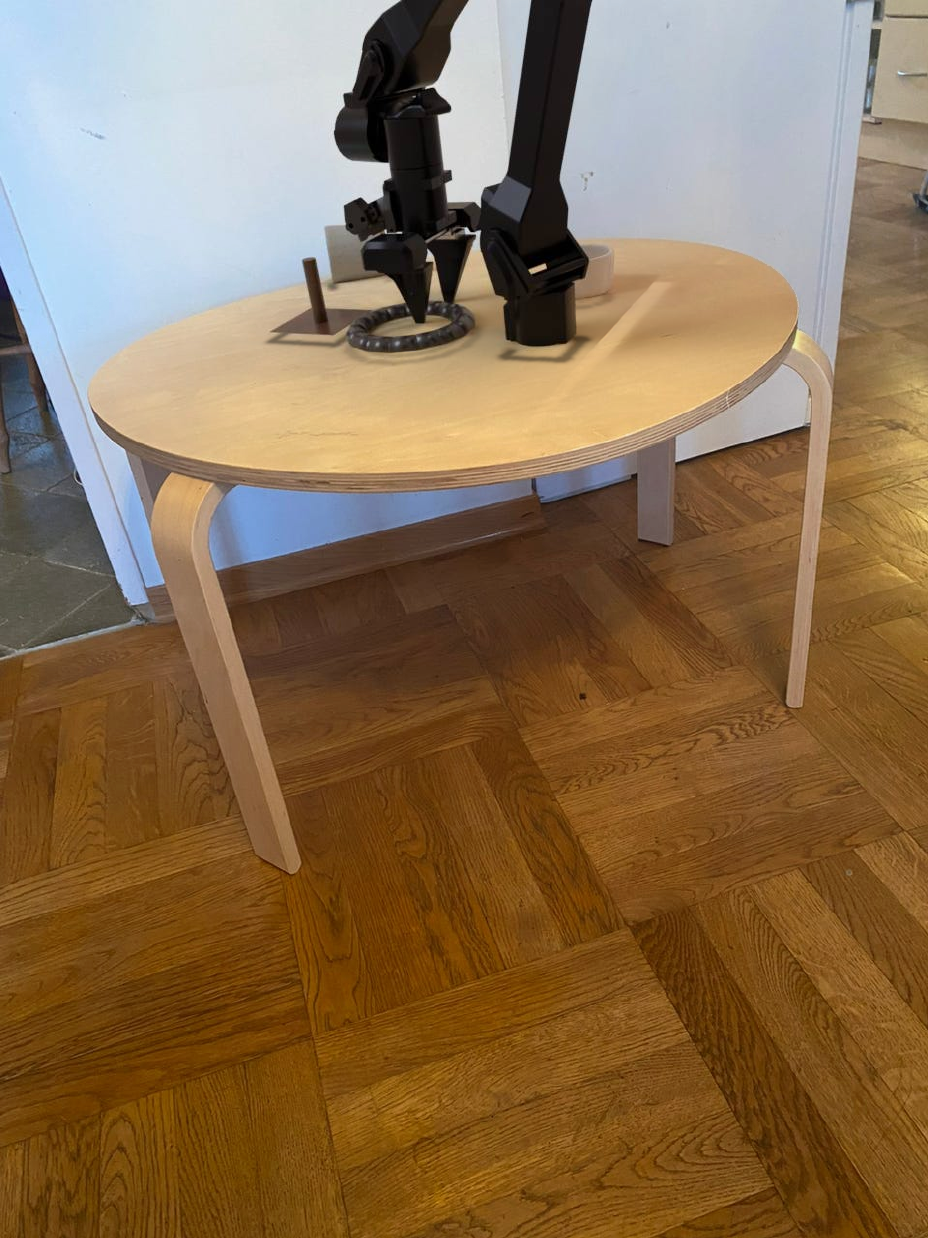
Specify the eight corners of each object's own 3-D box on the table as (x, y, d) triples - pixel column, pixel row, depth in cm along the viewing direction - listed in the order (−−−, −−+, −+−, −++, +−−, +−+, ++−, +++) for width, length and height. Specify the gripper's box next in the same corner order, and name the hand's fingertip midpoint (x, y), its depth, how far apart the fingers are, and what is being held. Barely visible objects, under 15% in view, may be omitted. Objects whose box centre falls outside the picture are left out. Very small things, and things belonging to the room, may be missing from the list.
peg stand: (374, 319, 105) (362, 248, 100) (334, 345, 99) (320, 270, 94) (312, 317, 109) (298, 248, 104) (271, 341, 103) (253, 269, 98)
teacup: (621, 304, 99) (620, 255, 96) (554, 313, 99) (552, 264, 96) (602, 281, 108) (601, 235, 104) (541, 289, 108) (538, 244, 104)
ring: (496, 320, 100) (494, 299, 98) (440, 366, 90) (437, 343, 88) (388, 316, 106) (385, 296, 104) (324, 359, 95) (320, 337, 94)
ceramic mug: (394, 283, 117) (385, 222, 113) (334, 293, 116) (322, 232, 112) (385, 266, 126) (377, 209, 121) (329, 275, 125) (319, 218, 120)
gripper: (393, 151, 102) (412, 287, 111) (304, 186, 89) (334, 337, 98) (479, 146, 97) (491, 289, 106) (399, 182, 84) (421, 342, 93)
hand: (435, 313), depth 101 cm, fingers open, 7 cm apart
